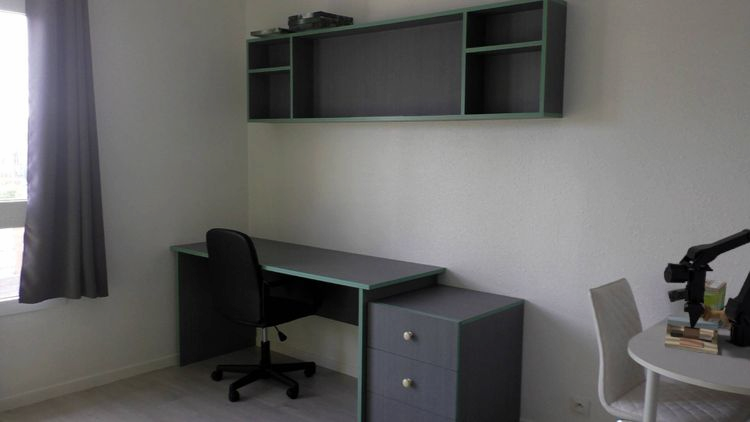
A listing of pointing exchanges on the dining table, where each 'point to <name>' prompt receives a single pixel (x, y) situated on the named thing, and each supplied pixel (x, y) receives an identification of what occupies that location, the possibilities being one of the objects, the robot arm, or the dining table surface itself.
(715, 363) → the dining table surface
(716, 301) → the tea box
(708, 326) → the sliding slat
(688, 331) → the walnut block
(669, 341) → the puzzle board
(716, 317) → the lion figurine
